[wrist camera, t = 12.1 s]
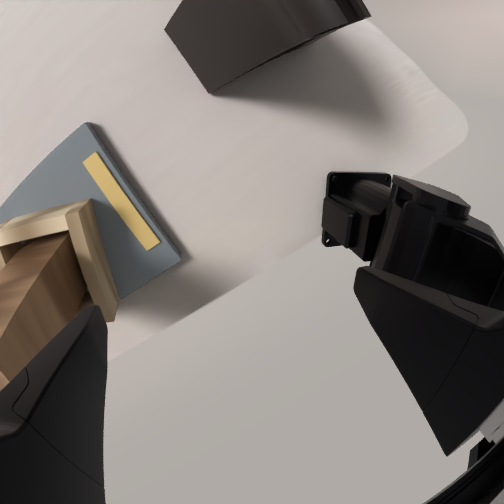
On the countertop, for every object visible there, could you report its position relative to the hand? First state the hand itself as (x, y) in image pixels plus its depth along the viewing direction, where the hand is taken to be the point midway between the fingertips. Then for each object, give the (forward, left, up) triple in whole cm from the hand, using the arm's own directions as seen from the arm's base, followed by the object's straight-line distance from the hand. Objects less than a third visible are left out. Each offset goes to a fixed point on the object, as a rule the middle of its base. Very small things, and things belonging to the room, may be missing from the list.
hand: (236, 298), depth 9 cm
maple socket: (+12, +4, -12) cm, 17 cm away
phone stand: (-3, -12, -13) cm, 18 cm away
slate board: (+12, +3, -13) cm, 18 cm away
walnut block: (+12, +4, -12) cm, 17 cm away
